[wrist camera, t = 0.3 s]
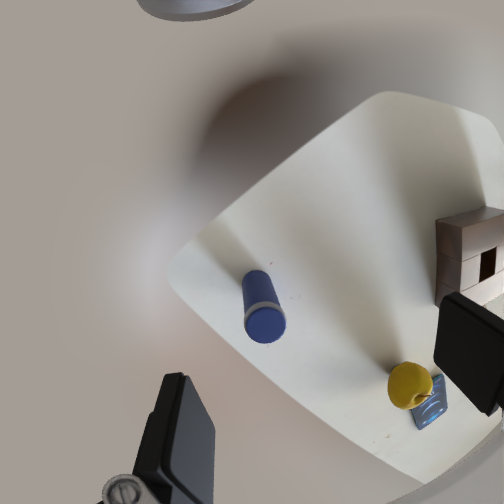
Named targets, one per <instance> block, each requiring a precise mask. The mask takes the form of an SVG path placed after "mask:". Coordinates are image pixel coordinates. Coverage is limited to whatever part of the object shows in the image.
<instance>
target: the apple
mask: <svg viewBox="0 0 504 504" xmlns="http://www.w3.org/2000/svg"><path fill="white" fill-rule="evenodd" d="M432 388H433V382H432V379H431V376H430V374H429V372H428V371H427V370H426V369H425V368H423V367H422V366H420V365H418V364H416V363H411V362H404V363H402V364H400V365H398V366H396V367H395V368H394V369H393V370H392V372H391V374H390V376H389V380H388V395H389V398H390V400H391V402H392V403H393V404H394V405H395V406H396V407H398V408H400V409H404V410H408V409H412V408H414V407H416V406H418V405H419V404H421V403H422V402H424V401H425V399H426V398H427V397H428V396H431V395H430V393H431V391H432Z"/></svg>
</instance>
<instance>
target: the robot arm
mask: <svg viewBox="0 0 504 504" xmlns="http://www.w3.org/2000/svg"><path fill="white" fill-rule="evenodd" d="M433 358H434V362H435V364H436V365H437V366H438V367H439V368H440V369H441V370H442V371H443V372H444V373H445V374H446V375H447V376H448V377H449V378H450V380H451V381H452V382H453V383H454V384H455V385H456V386H457V387H458V388H459V389H460V390H461V391H462V392H463V393H464V394H465V395H466V397H467V398H468V399H469V400H470V401H471V402H472V403H473V404H474V405H475V406H476V407H477V409H478V410H479V411H480V412H482V413H485V414H486V415H487V416H488V417H489V416H491V415H492V414H493V413H494V412H495V411H497V410H498V408H499V406H500V407H501V408H502V431H501V432H500V433H499V434H498V435H497V436H496V437H494V438H493V439H492V440H491V441H489V442H488V443H487V444H486V445H485V446H483V447H482V448H481V449H479V450H478V451H477V452H475V453H474V454H473V455H471V456H470V457H468V458H467V459H466V460H464V461H463V462H462V463H460V464H458V465H457V466H455V467H454V468H452V469H451V470H450V471H448V472H446V473H445V474H443V475H441V476H440V477H438V478H436V479H434V480H433V481H431V482H429V483H427V484H426V485H424V486H422V487H420V488H418V489H416V490H414V491H412V492H410V493H409V494H406V495H404V496H402V497H400V498H398V499H396V500H394V501H392V502H389V503H387V504H504V320H503V319H501V318H500V317H498V316H497V315H495V314H493V313H492V312H490V311H489V310H487V309H485V308H484V307H482V306H481V305H479V304H477V303H476V302H474V301H472V300H471V299H469V298H467V297H466V296H464V295H462V294H461V293H459V292H457V291H454V292H452V293H450V294H448V295H445V296H444V297H443V298H442V302H441V303H440V308H439V319H438V328H437V336H436V343H435V350H434V356H433ZM214 452H215V427H214V424H213V422H212V420H211V418H210V417H209V415H208V413H207V411H206V409H205V407H204V405H203V403H202V401H201V399H200V397H199V395H198V393H197V391H196V389H195V387H194V385H193V383H192V381H191V379H190V377H189V376H184V374H183V373H182V372H178V373H171V374H166V375H165V376H164V378H163V381H162V385H161V388H160V391H159V395H158V398H157V401H156V405H155V408H154V411H153V412H151V413H150V414H149V417H148V420H147V423H146V426H145V430H144V433H143V436H142V440H141V444H140V447H139V450H138V454H137V458H136V461H135V465H134V469H133V473H132V475H130V474H121V475H117V476H115V477H113V478H111V479H110V480H108V481H107V483H106V484H105V485H104V487H103V490H102V498H103V501H101V502H99V503H97V504H213V487H214V454H215V453H214Z"/></svg>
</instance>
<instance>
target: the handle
mask: <svg viewBox="0 0 504 504" xmlns="http://www.w3.org/2000/svg"><path fill="white" fill-rule="evenodd" d="M242 290H243V301H244V313H245V317H244V327H245V331H246V333H247V334H248V336H249V337H250V338H251V339H252V340H254V341H256V342H258V343H264V344H266V343H272V342H274V341H276V340H278V339H279V338H280V337H281V336H282V335H283V334H284V332H285V330H286V325H287V319H286V316H285V313H284V311H283V309H282V308H281V306H280V303H279V301H278V298H277V295H276V293H275V290H274V287H273V285H272V282H271V279H270V277H269V276H268V274H266V273H265V272H263V271H260V270H255V271H251V272H249V273H248V274H246V275H245V277H244V278H243V281H242Z"/></svg>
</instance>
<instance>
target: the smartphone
mask: <svg viewBox="0 0 504 504" xmlns="http://www.w3.org/2000/svg"><path fill="white" fill-rule="evenodd" d="M432 382H433V388H432V391H431V393H430V395H431V396H428V397H427V398H426V399H425V401H424V402H422V403H421V404H419V405H418V406H416V407H414V408H412V409H411V410H412V413H413V415H414V419H415V422H416V425H417V428H418V430H421V429H423V428H424V427H426V426H427V425H428V424H430V423H431V422H433V421H434V420H435V419H437V418H438V417H439V416H440V415H442V414H443V413H444V412H445V411H446V410H447V408H448V407H447V396H446V387H445V379H444V376H443V375H442V374H441V375H439V376H437V377H436V378H435V379H434V380H432Z"/></svg>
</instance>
